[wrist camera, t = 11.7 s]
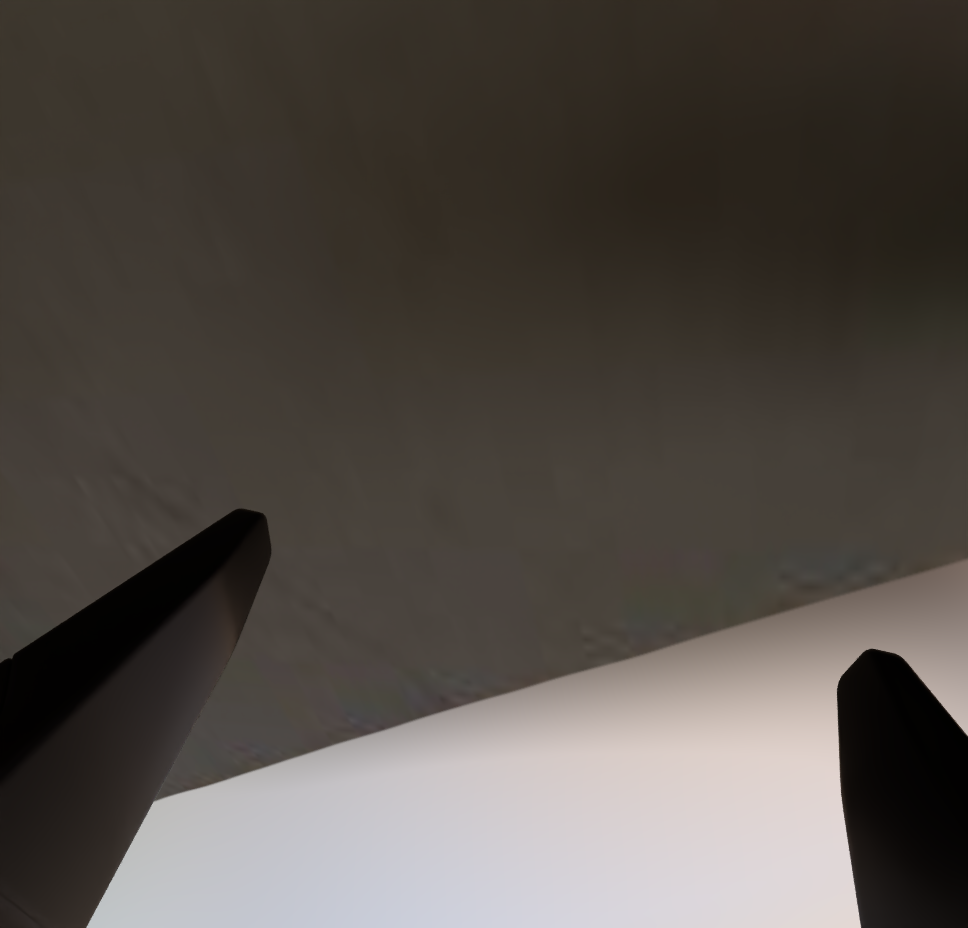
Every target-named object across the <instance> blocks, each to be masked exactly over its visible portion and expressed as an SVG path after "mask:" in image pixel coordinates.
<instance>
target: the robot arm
mask: <svg viewBox="0 0 968 928" xmlns="http://www.w3.org/2000/svg"><path fill="white" fill-rule="evenodd" d="M270 557H271V543H270V536H269V530H268V524H267V519H266V517H265V515H264V514H263V513H260V512H256V511H251V510H247V509H236V510H234V511H232V512H231V513H229V514H228V515H226V516H225V517H223V518H222V519H220V520H218V521H217V522H215V523H214V524H212V525H211V526H209V527H208V528H206V529H205V530H203V531H202V532H200V533H199V534H197V535H196V536H194V537H192V538H191V539H189V540H188V541H186V542H185V543H183V544H182V545H180V546H179V547H177V548H176V549H174V550H173V551H171V552H170V553H168V554H167V555H165V556H163V557H162V558H160V559H159V560H157V561H156V562H154V563H153V564H151V565H150V566H148V567H147V568H145V569H144V570H142V571H141V572H139V573H137V574H136V575H134V576H133V577H131V578H130V579H128V580H127V581H125V582H124V583H122V584H121V585H119V586H118V587H116V588H115V589H113V590H112V591H110V592H108V593H107V594H105V595H104V596H102V597H101V598H99V599H98V600H96V601H95V602H93V603H92V604H90V605H89V606H87V607H86V608H84V609H82V610H81V611H79V612H78V613H76V614H75V615H73V616H72V617H70V618H69V619H67V620H66V621H64V622H63V623H61V624H60V625H58V626H56V627H55V628H53V629H52V630H50V631H49V632H47V633H46V634H44V635H43V636H41V637H40V638H38V639H37V640H35V641H34V642H32V643H31V644H29V645H27V646H26V647H24V648H23V649H21V650H20V651H18V652H17V653H15V654H14V655H13V658H12V659H11V658H8V659H6V660H4V661H3V662H1V663H0V928H86V927H87V925H88V923H89V921H90V920H91V918H92V916H93V914H94V912H95V910H96V908H97V906H98V905H99V903H100V901H101V899H102V897H103V895H104V893H105V891H106V890H107V888H108V886H109V884H110V882H111V880H112V878H113V877H114V875H115V873H116V871H117V869H118V867H119V865H120V863H121V862H122V860H123V858H124V856H125V854H126V852H127V850H128V848H129V847H130V845H131V843H132V841H133V839H134V837H135V835H136V833H137V832H138V830H139V828H140V826H141V824H142V822H143V820H144V818H145V817H146V815H147V813H148V811H149V809H150V807H151V805H152V803H153V802H154V800H155V798H156V796H157V794H158V792H159V790H160V789H161V787H162V785H163V783H164V781H165V779H166V777H167V775H168V774H169V772H170V770H171V768H172V766H173V764H174V762H175V760H176V759H177V757H178V755H179V753H180V751H181V749H182V747H183V745H184V744H185V742H186V740H187V738H188V736H189V734H190V732H191V730H192V729H193V727H194V725H195V723H196V721H197V719H198V717H199V716H200V714H201V712H202V710H203V708H204V706H205V704H206V702H207V701H208V699H209V697H210V695H211V693H212V691H213V689H214V687H215V686H216V684H217V682H218V680H219V678H220V676H221V674H222V672H223V671H224V669H225V667H226V665H227V663H228V661H229V659H230V657H231V655H232V653H233V651H234V649H235V646H236V644H237V642H238V639H239V637H240V634H241V632H242V629H243V627H244V624H245V622H246V619H247V617H248V614H249V612H250V609H251V607H252V604H253V602H254V599H255V597H256V594H257V592H258V589H259V586H260V584H261V581H262V579H263V576H264V574H265V571H266V569H267V566H268V564H269V561H270ZM837 704H838V705H837V706H838V732H839V759H840V782H841V796H842V804H843V812H844V818H845V825H846V831H847V837H848V844H849V851H850V857H851V864H852V871H853V877H854V884H855V890H856V897H857V904H858V910H859V917H860V923H861V928H968V736H967V735H966V733H965V732H964V731H963V730H962V729H961V727H960V726H959V725H958V724H957V723H956V722H955V720H954V719H953V718H952V717H951V715H950V714H949V713H948V712H947V710H946V709H945V708H944V707H943V706H942V704H941V703H940V702H939V701H938V700H937V698H936V697H935V696H934V695H933V694H932V693H931V691H930V690H929V689H928V688H927V686H926V685H925V684H924V683H923V681H922V680H921V679H920V678H919V677H918V675H917V674H916V673H915V672H914V670H913V669H912V668H911V667H910V666H909V664H908V663H907V662H906V661H905V660H904V659H903V658H902V657H901V656H899V655H897V654H894V653H890V652H886V651H881V650H876V649H869V650H866V651H865V652H863V653H862V654H861V655H860V656H859V658H858V659H857V660H856V661H855V662H854V663H853V664H852V665H851V666H850V667H849V668H848V670H847V671H846V672H845V673H844V674H843V675H842V676H841V678H840V680H839V683H838V688H837Z"/></svg>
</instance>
